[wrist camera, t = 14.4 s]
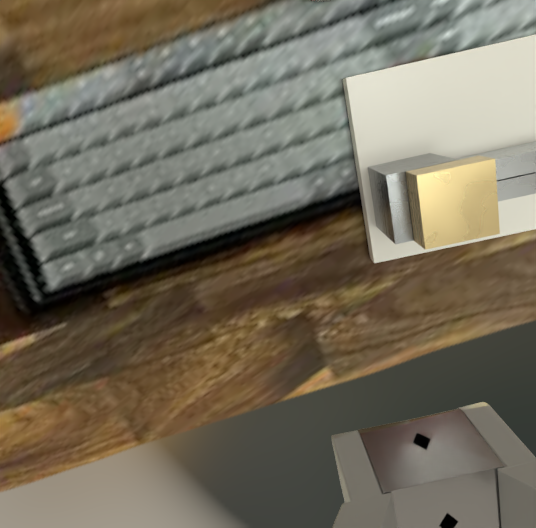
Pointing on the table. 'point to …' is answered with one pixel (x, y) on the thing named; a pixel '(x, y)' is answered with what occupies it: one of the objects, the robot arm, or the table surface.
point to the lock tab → (453, 201)
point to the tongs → (397, 199)
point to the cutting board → (444, 122)
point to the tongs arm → (512, 160)
